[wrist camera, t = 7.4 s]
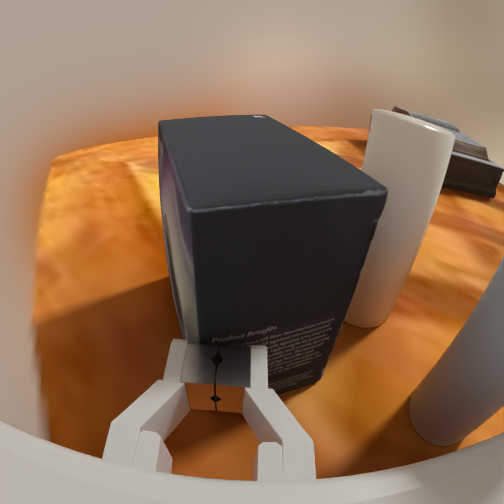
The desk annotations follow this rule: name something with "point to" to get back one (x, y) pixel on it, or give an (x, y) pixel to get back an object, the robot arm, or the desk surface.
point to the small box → (263, 238)
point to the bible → (464, 161)
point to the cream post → (398, 207)
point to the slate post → (465, 375)
